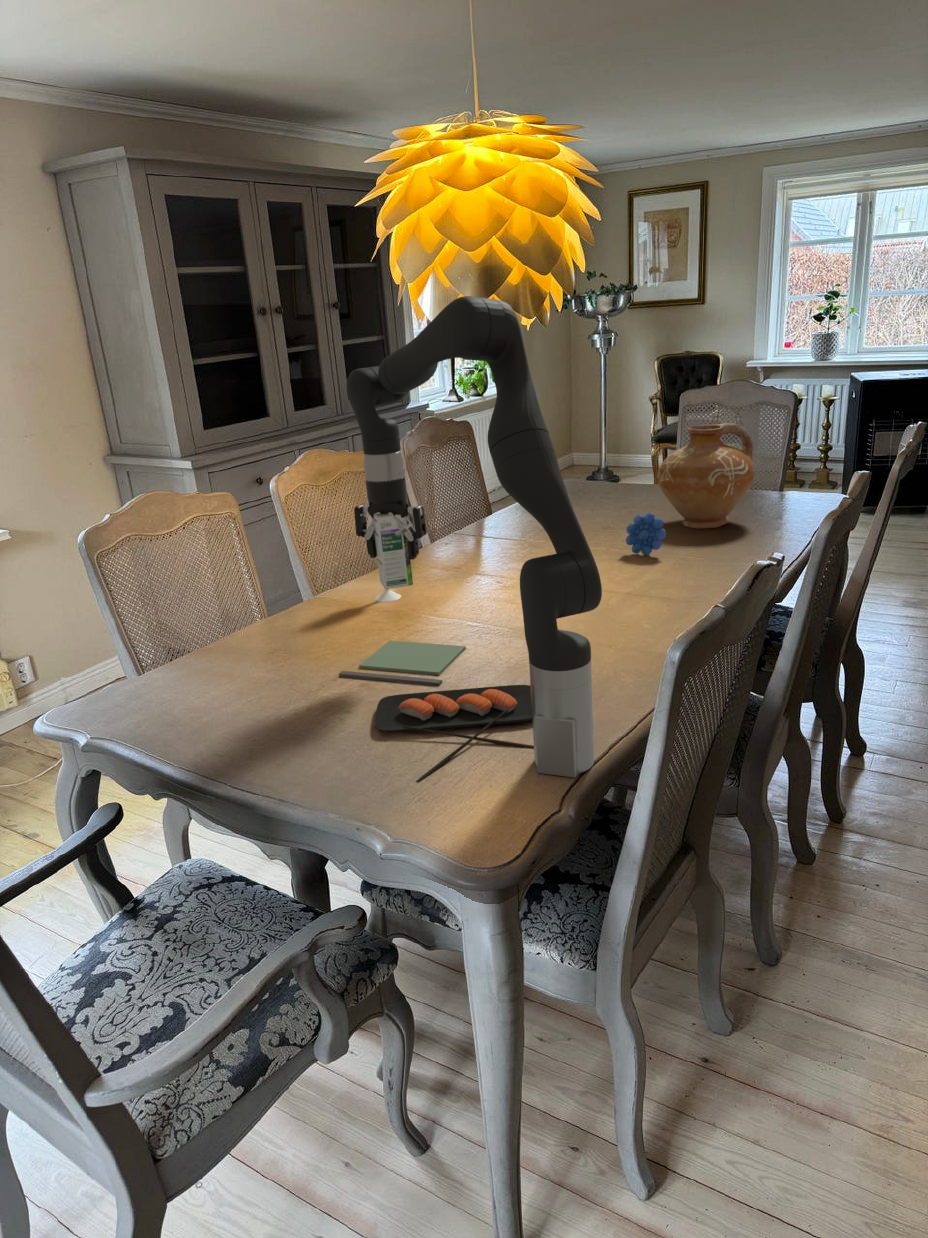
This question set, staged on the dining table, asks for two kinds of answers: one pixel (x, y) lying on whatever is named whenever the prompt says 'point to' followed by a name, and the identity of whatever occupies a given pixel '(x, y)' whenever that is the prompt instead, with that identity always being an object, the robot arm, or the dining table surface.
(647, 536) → the blue bumpy cluster
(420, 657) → the mat
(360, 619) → the dining table surface
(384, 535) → the syrup box
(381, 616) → the dining table surface
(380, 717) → the sushi plate
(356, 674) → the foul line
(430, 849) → the dining table surface
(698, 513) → the jug
